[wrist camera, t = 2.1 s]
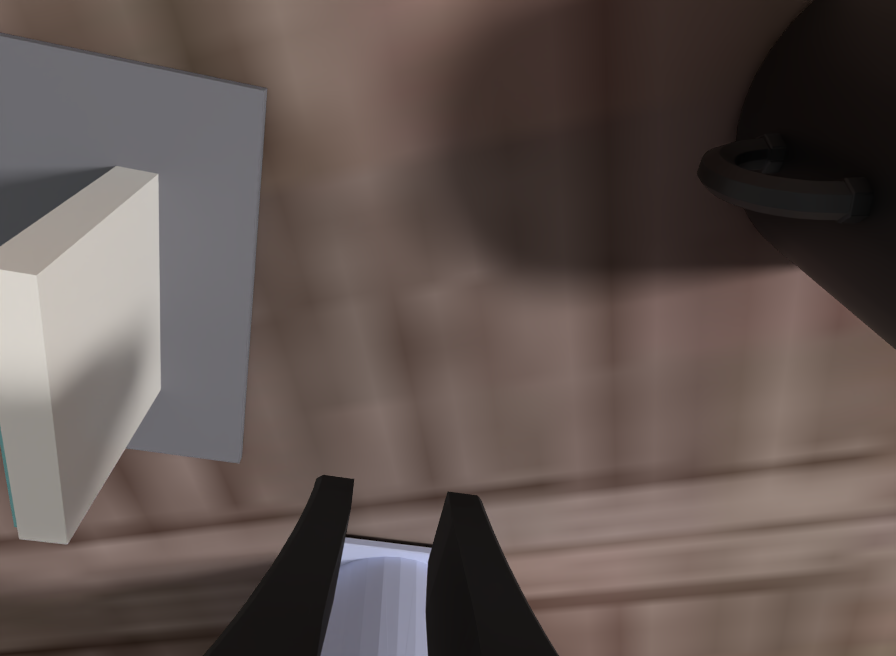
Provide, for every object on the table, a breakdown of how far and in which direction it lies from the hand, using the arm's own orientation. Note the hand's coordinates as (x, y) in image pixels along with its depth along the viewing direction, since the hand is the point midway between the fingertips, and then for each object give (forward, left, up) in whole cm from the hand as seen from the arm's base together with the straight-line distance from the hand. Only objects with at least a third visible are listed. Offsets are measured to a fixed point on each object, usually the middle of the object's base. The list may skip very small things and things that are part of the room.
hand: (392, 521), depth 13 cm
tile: (-2, +8, -10) cm, 13 cm away
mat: (-2, +11, -10) cm, 16 cm away
